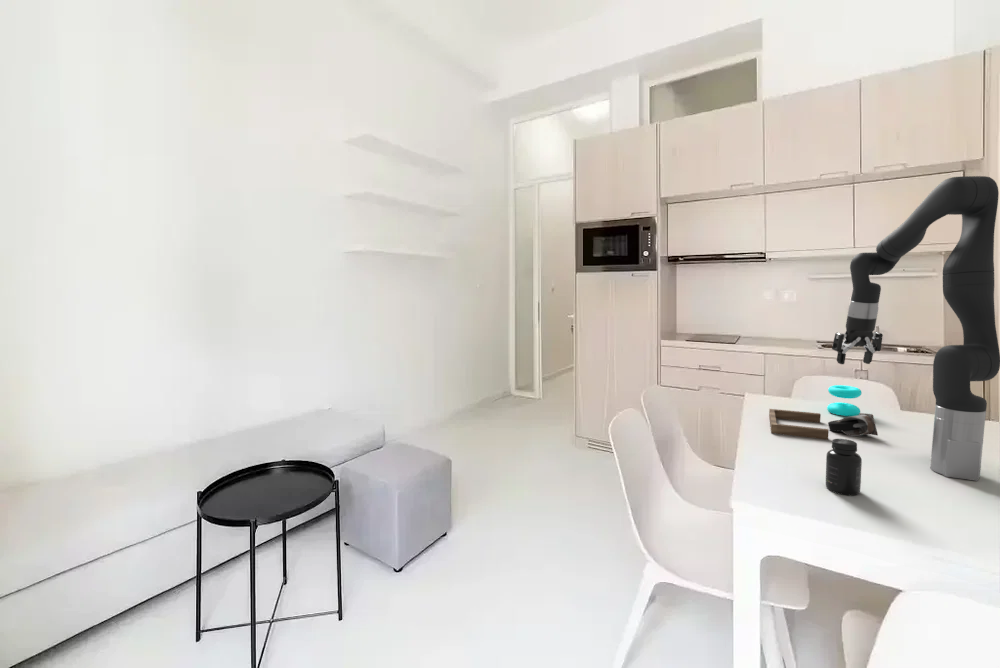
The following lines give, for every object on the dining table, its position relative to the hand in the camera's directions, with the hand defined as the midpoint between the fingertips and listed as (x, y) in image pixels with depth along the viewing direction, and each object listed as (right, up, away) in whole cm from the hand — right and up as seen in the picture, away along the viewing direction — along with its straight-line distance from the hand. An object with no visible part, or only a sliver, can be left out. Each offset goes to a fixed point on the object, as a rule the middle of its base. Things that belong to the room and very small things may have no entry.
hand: (853, 363), depth 154 cm
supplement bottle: (-34, -28, -42) cm, 61 cm away
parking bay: (-15, -22, +5) cm, 27 cm away
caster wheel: (-2, -23, -1) cm, 23 cm away
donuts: (+12, -20, +21) cm, 31 cm away
